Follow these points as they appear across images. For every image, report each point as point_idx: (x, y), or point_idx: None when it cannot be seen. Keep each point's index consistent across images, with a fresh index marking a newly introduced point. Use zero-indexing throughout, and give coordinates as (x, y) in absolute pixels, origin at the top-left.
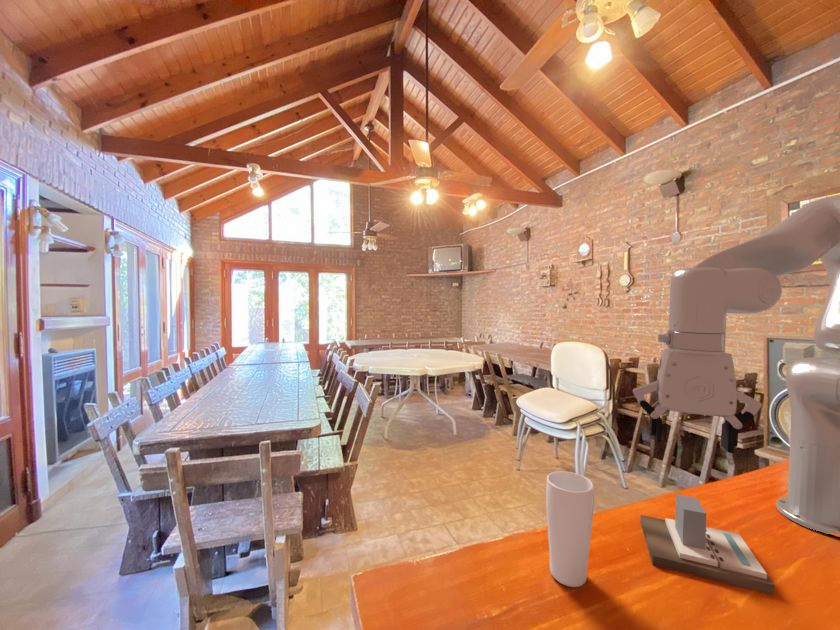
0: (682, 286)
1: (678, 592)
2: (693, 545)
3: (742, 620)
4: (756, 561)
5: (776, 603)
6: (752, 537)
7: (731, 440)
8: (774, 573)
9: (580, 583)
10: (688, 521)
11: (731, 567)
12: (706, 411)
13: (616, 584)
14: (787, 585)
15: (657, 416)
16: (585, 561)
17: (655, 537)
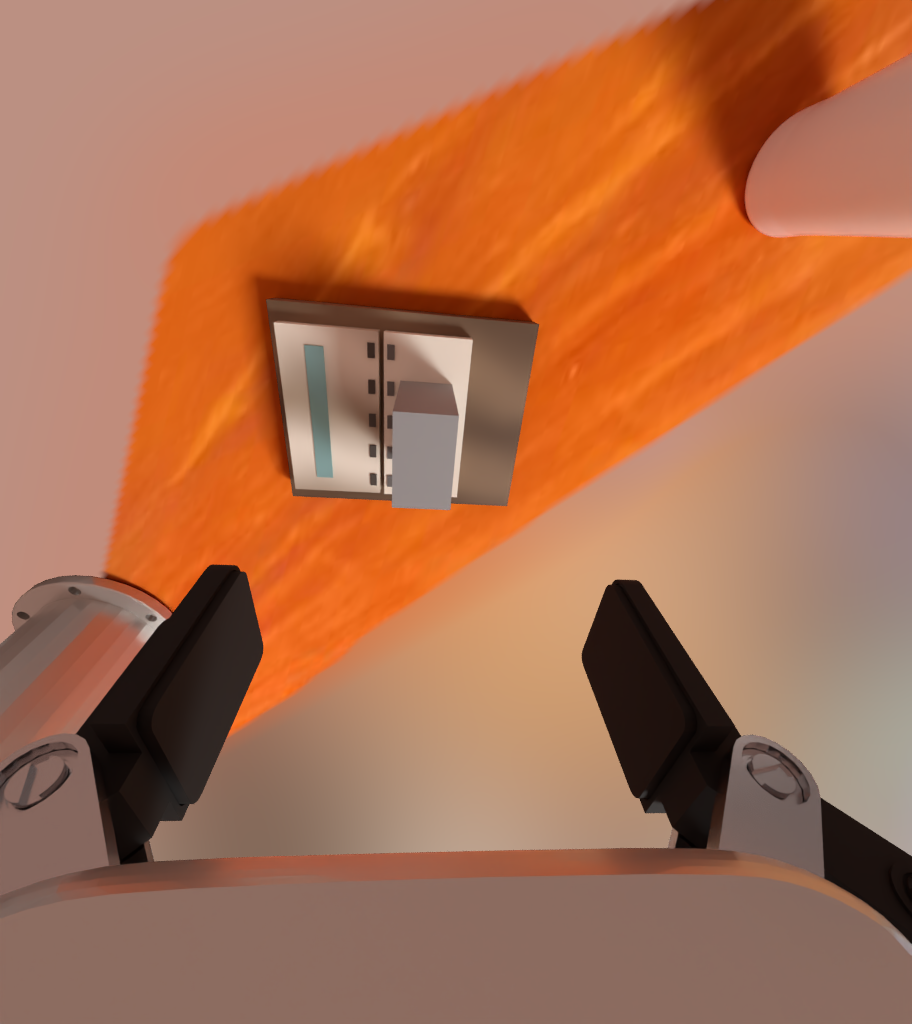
0: None
1: (505, 217)
2: (427, 383)
3: (380, 149)
4: (285, 374)
5: (278, 264)
6: (264, 521)
7: (181, 627)
8: (252, 393)
9: (791, 116)
10: (442, 403)
11: (353, 328)
12: (316, 934)
13: (662, 189)
14: (235, 353)
15: (740, 763)
16: (830, 106)
17: (502, 415)
